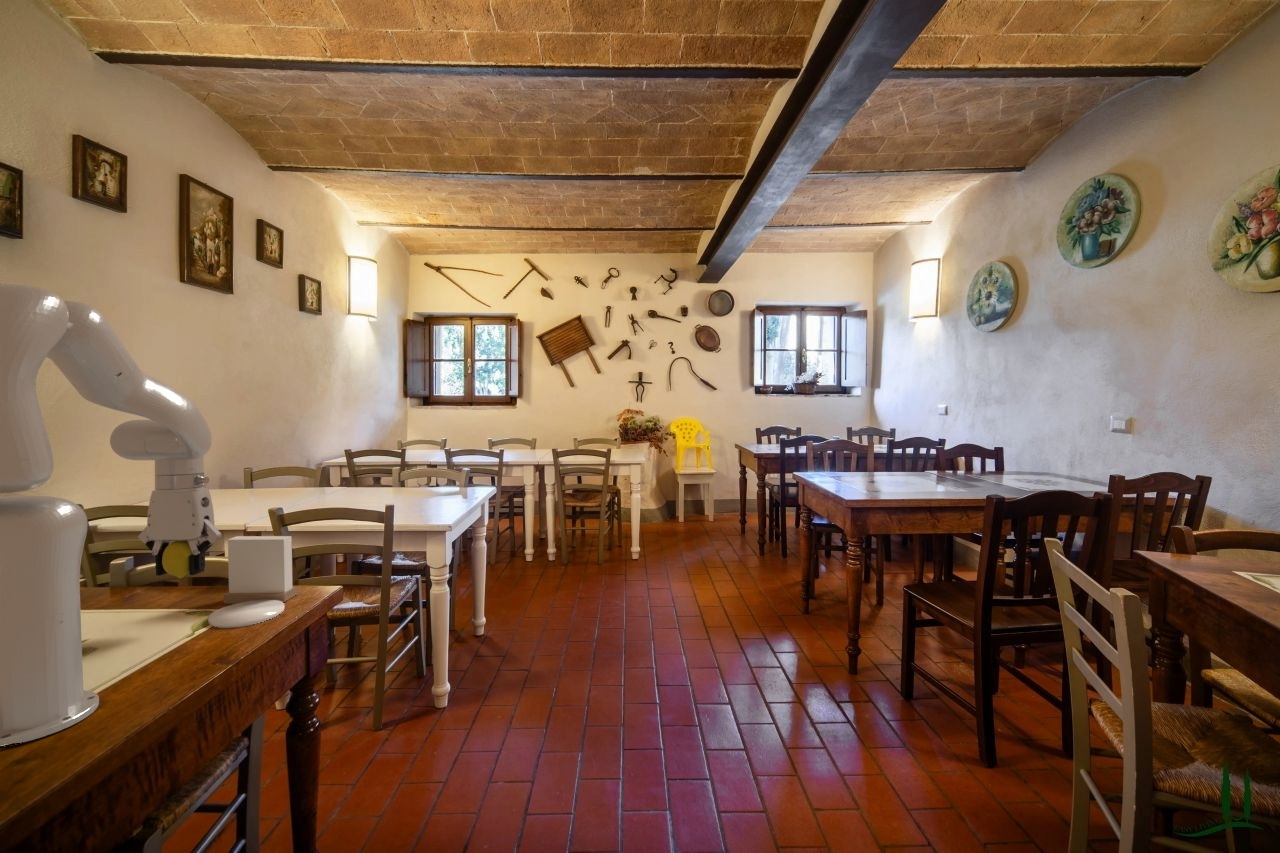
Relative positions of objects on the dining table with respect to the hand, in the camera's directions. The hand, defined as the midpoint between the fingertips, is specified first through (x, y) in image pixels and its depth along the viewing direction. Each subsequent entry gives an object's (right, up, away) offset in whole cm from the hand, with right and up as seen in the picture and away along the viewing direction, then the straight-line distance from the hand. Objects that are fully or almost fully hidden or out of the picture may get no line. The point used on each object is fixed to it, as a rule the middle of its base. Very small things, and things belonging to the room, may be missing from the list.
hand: (180, 572), depth 110 cm
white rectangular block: (+6, -10, +15) cm, 19 cm away
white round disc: (+9, -10, +6) cm, 15 cm away
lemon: (0, -1, 0) cm, 1 cm away
